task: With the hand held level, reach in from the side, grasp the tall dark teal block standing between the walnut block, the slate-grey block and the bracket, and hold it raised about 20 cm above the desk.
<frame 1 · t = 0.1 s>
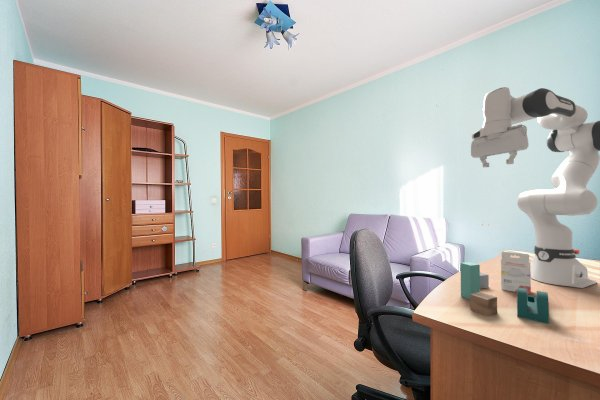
hand: (497, 165, 101), 48 cm above the table, tool pointing down, fingers open, 8 cm apart
bracket: (531, 311, 81), on the table
ink cartridge box: (515, 290, 98), on the table
slate grey block: (477, 286, 104), on the table
walnut block: (483, 311, 80), on the table
teal block: (470, 297, 92), on the table
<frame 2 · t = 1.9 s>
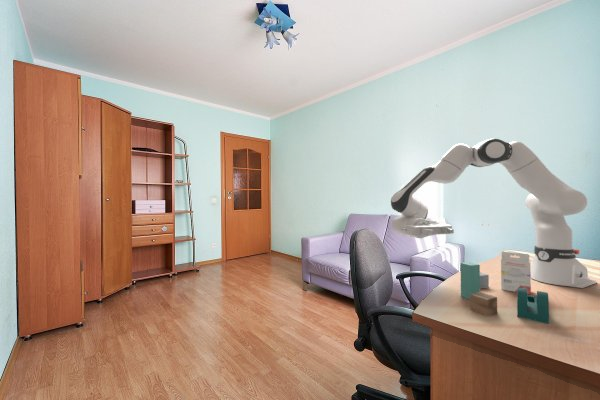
hand: (442, 231, 103), 22 cm above the table, tool horizontal, fingers open, 8 cm apart
nothing on the table moved.
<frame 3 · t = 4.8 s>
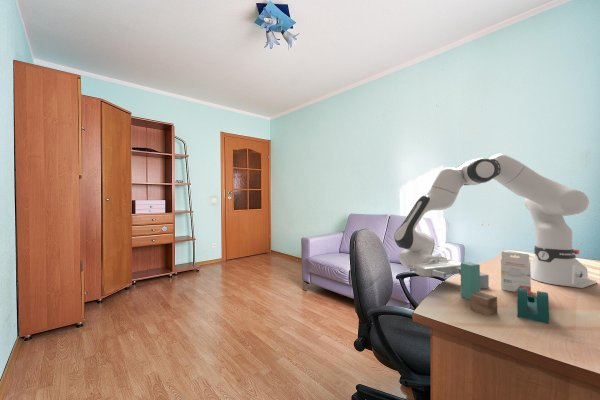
hand: (454, 274, 98), 6 cm above the table, tool horizontal, fingers open, 8 cm apart
nothing on the table moved.
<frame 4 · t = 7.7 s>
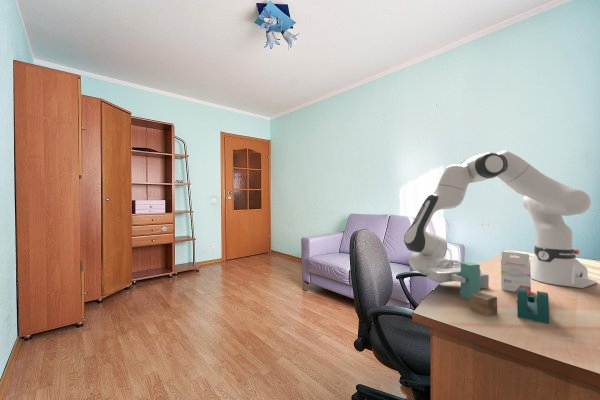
hand: (472, 279, 91), 7 cm above the table, tool horizontal, fingers closed on teal block, 4 cm apart
teal block: (470, 297, 92), on the table, touching gripper
everything else where it was.
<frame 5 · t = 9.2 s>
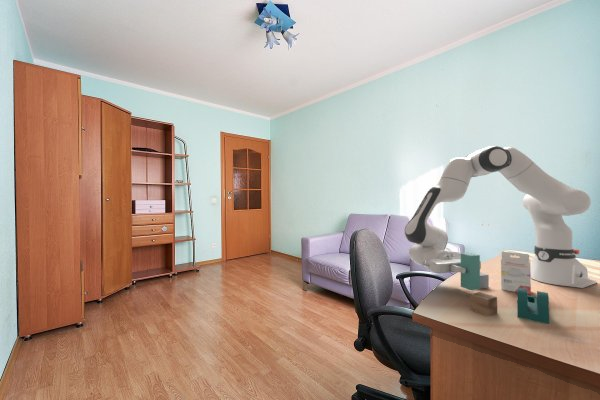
hand: (472, 270, 91), 10 cm above the table, tool horizontal, fingers closed on teal block, 4 cm apart
teal block: (470, 288, 92), point 3 cm above the table, touching gripper
everything else where it was.
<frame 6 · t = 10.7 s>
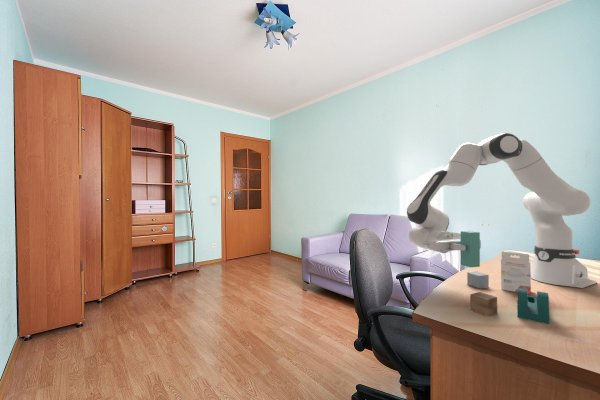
hand: (472, 247, 91), 18 cm above the table, tool horizontal, fingers closed on teal block, 4 cm apart
teal block: (470, 265, 92), point 11 cm above the table, touching gripper
everything else where it was.
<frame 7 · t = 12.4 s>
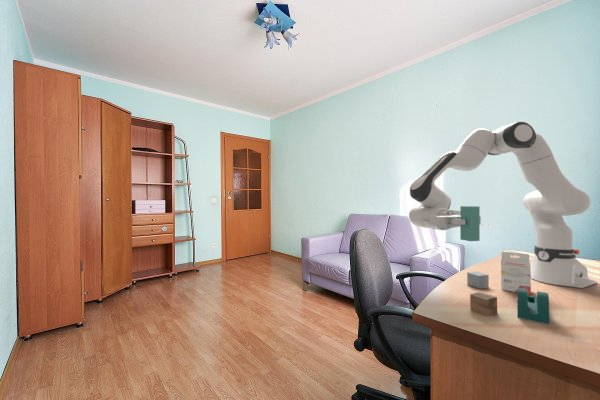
hand: (472, 222, 91), 27 cm above the table, tool horizontal, fingers closed on teal block, 4 cm apart
teal block: (469, 240, 91), point 20 cm above the table, touching gripper
everything else where it was.
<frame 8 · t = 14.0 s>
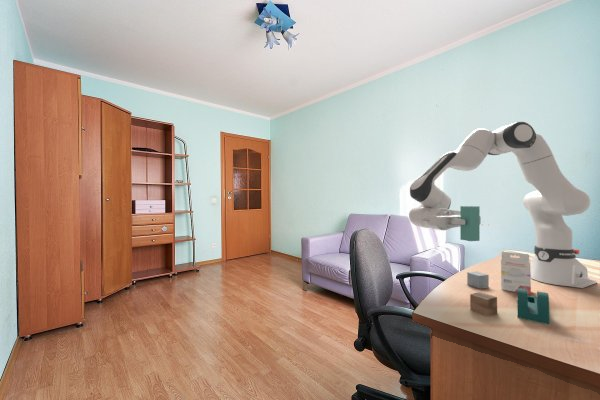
hand: (472, 222, 91), 27 cm above the table, tool horizontal, fingers closed on teal block, 4 cm apart
teal block: (469, 240, 91), point 20 cm above the table, touching gripper
everything else where it was.
at the end: the gripper is holding teal block; teal block point 20.4 cm above the table; walnut block moved 0.1 cm from its start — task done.
